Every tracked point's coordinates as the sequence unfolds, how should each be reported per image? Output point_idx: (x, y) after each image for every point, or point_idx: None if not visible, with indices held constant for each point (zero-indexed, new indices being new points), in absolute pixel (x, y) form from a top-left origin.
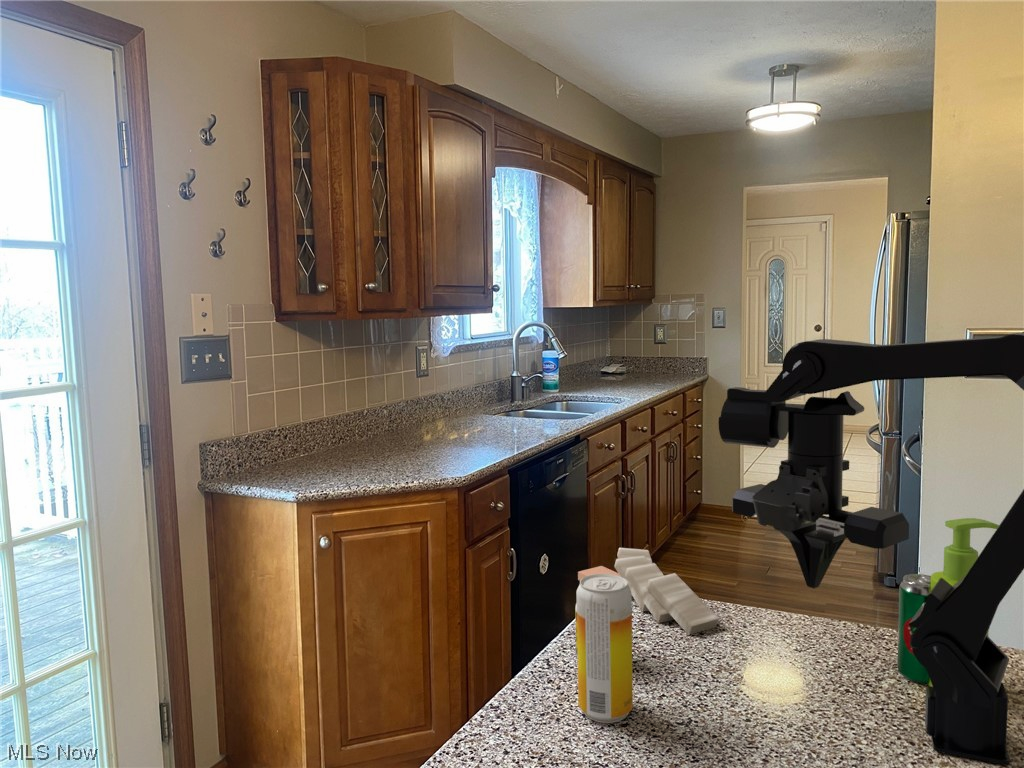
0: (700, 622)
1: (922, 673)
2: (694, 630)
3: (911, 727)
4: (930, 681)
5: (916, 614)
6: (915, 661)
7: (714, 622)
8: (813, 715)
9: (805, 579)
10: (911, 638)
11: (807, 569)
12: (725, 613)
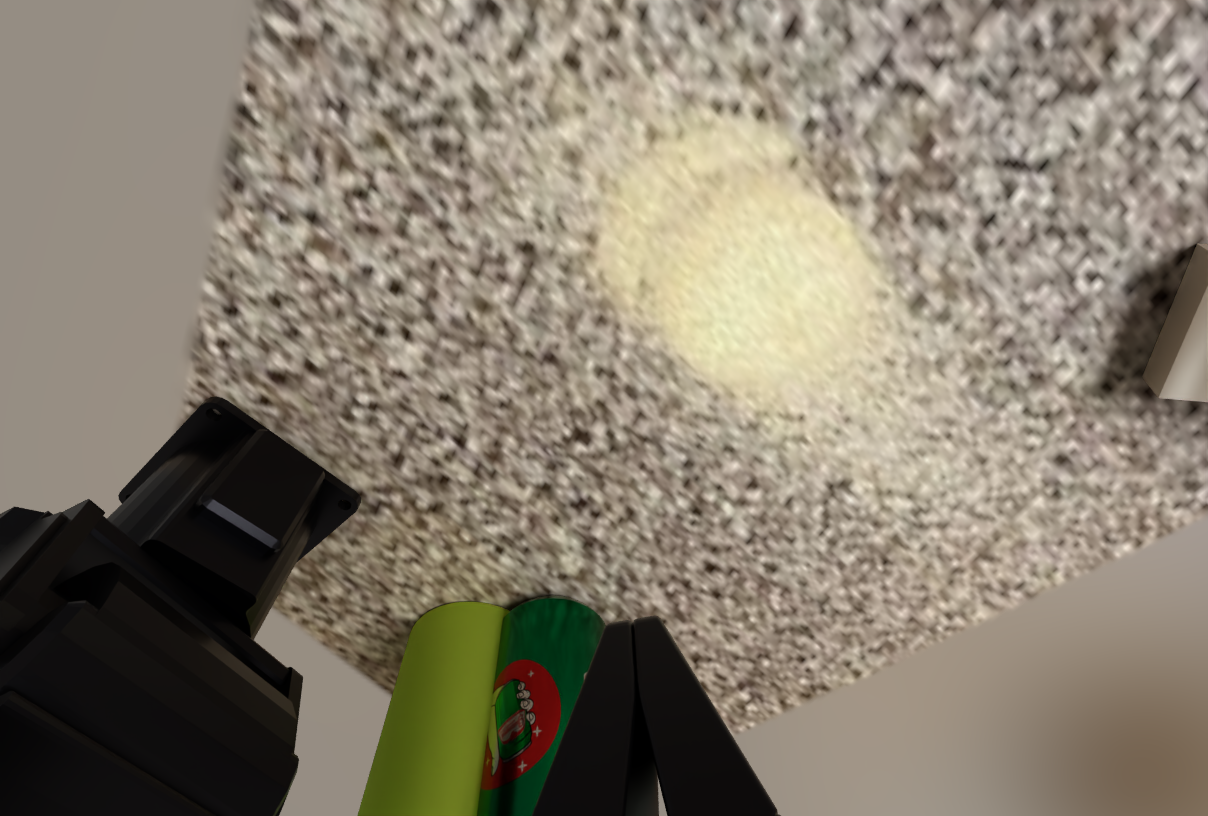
0: (1204, 311)
1: (511, 626)
2: (1194, 273)
3: (350, 436)
4: (495, 619)
5: (107, 785)
6: (523, 645)
7: (1159, 374)
8: (505, 235)
9: (671, 651)
10: (48, 635)
11: (650, 740)
12: (1170, 469)
